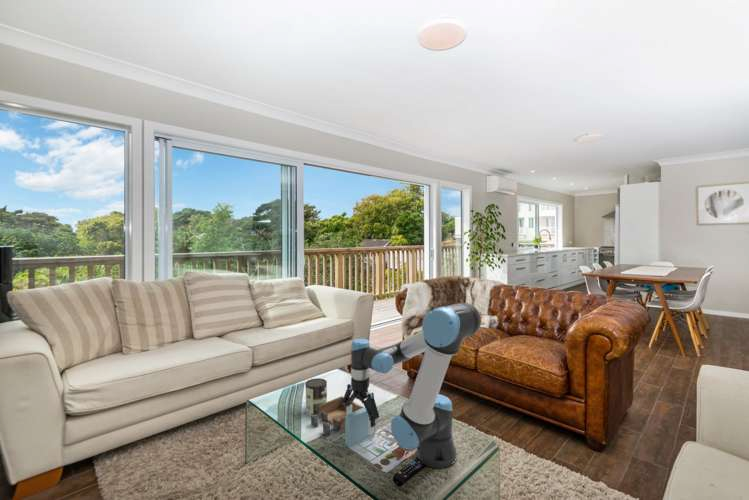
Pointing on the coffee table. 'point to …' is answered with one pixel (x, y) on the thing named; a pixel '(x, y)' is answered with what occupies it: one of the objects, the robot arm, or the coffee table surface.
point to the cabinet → (333, 414)
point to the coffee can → (315, 395)
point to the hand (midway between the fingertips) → (359, 426)
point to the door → (357, 427)
